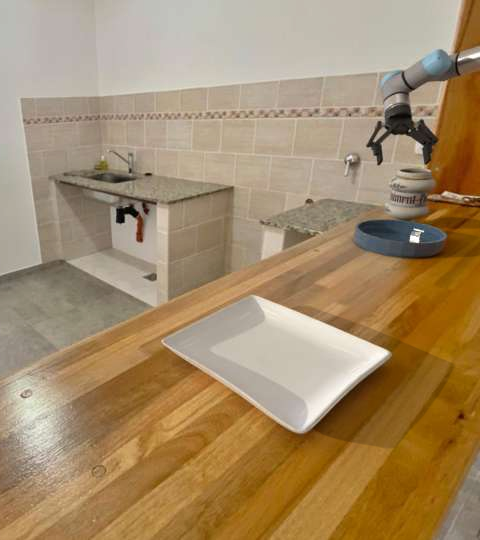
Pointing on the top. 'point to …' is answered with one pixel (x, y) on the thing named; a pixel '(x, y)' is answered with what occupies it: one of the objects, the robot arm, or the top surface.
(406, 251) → the bowl
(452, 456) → the top surface
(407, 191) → the apothecary jar
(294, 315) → the square plate
